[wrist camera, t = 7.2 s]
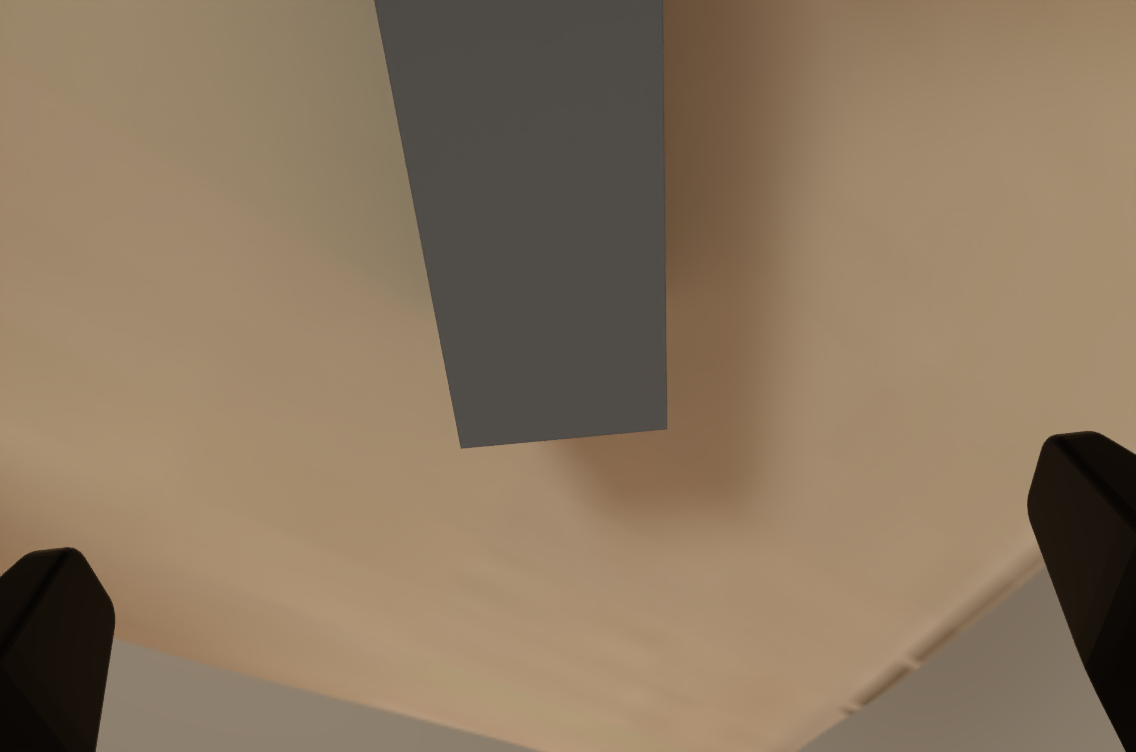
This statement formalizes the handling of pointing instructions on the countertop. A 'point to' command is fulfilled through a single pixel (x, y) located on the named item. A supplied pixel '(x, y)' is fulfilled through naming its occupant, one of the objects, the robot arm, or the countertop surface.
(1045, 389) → the countertop surface
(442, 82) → the grey rectangular bar
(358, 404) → the countertop surface
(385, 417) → the countertop surface
